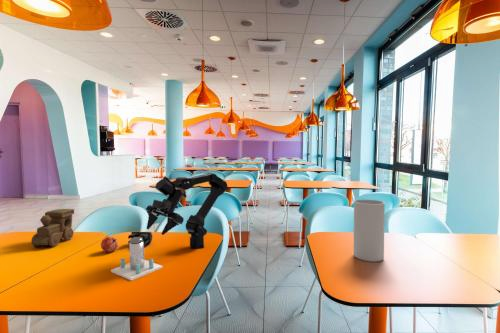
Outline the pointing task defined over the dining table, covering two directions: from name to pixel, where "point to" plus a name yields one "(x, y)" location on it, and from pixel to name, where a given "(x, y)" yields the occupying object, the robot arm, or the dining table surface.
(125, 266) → the tray
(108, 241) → the pomegranate
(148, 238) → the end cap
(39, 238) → the wooden toy train
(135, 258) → the shaker
